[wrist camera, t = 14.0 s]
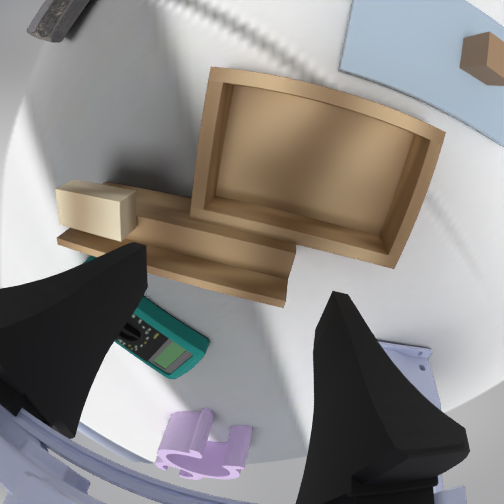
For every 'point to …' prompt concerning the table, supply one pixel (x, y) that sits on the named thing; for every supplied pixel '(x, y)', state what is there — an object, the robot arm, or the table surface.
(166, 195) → the toolbox
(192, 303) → the table surface
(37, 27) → the pipe
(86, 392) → the robot arm
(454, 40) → the lid
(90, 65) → the table surface
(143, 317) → the digital multimeter
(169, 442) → the clip
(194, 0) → the table surface
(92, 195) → the cream rectangular block
